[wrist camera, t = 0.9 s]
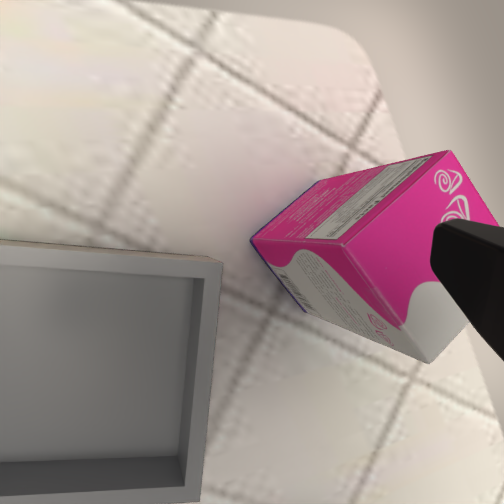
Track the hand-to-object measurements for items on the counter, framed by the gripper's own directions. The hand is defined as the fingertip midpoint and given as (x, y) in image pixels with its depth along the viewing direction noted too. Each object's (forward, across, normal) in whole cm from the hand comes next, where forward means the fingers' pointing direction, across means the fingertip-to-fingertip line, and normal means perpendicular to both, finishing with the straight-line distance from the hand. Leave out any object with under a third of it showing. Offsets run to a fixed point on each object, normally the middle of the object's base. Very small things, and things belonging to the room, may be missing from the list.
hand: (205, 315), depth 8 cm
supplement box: (+15, -9, +10) cm, 20 cm away
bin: (+14, +5, +12) cm, 19 cm away
